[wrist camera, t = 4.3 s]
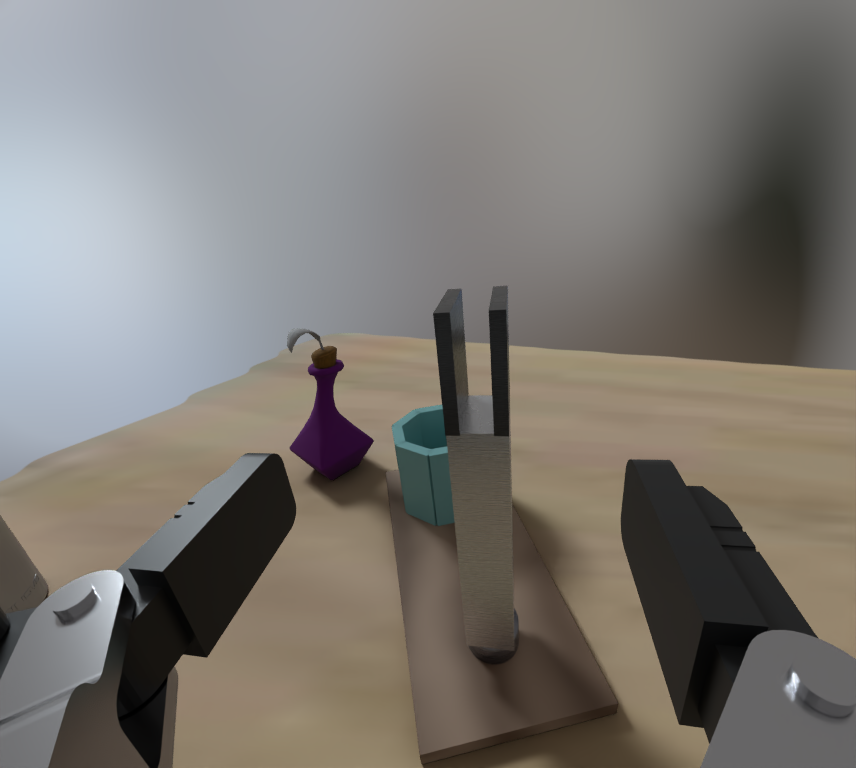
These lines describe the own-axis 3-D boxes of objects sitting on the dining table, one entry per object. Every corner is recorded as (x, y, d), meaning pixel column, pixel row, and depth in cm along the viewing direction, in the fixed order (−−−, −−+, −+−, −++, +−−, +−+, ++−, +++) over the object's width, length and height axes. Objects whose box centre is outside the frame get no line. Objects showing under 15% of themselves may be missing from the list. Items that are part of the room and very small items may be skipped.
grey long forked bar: (463, 667, 27) (426, 313, 17) (469, 606, 31) (442, 289, 21) (519, 674, 26) (514, 309, 16) (518, 611, 30) (513, 285, 20)
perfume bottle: (344, 443, 56) (315, 314, 49) (378, 462, 51) (353, 322, 44) (294, 470, 52) (255, 332, 44) (327, 494, 47) (289, 344, 39)
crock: (409, 531, 39) (397, 461, 35) (399, 474, 47) (389, 413, 43) (501, 513, 40) (498, 443, 36) (475, 460, 48) (472, 399, 44)
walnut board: (421, 764, 24) (419, 755, 23) (386, 479, 48) (385, 472, 48) (616, 712, 25) (618, 703, 24) (486, 460, 49) (485, 453, 49)
